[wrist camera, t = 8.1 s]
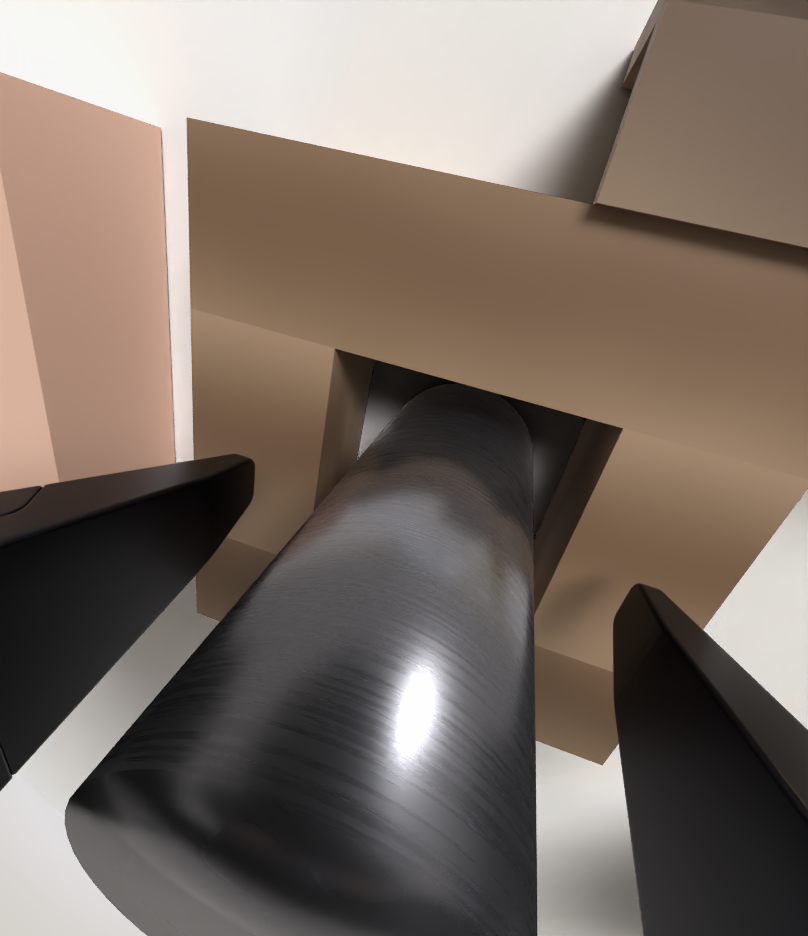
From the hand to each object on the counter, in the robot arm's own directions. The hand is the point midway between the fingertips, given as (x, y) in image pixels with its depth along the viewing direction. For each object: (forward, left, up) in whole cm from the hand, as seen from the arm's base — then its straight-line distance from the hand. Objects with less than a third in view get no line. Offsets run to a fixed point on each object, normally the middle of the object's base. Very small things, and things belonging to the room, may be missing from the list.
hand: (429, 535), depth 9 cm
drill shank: (0, 0, -4) cm, 4 cm away
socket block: (+1, 0, -4) cm, 4 cm away
